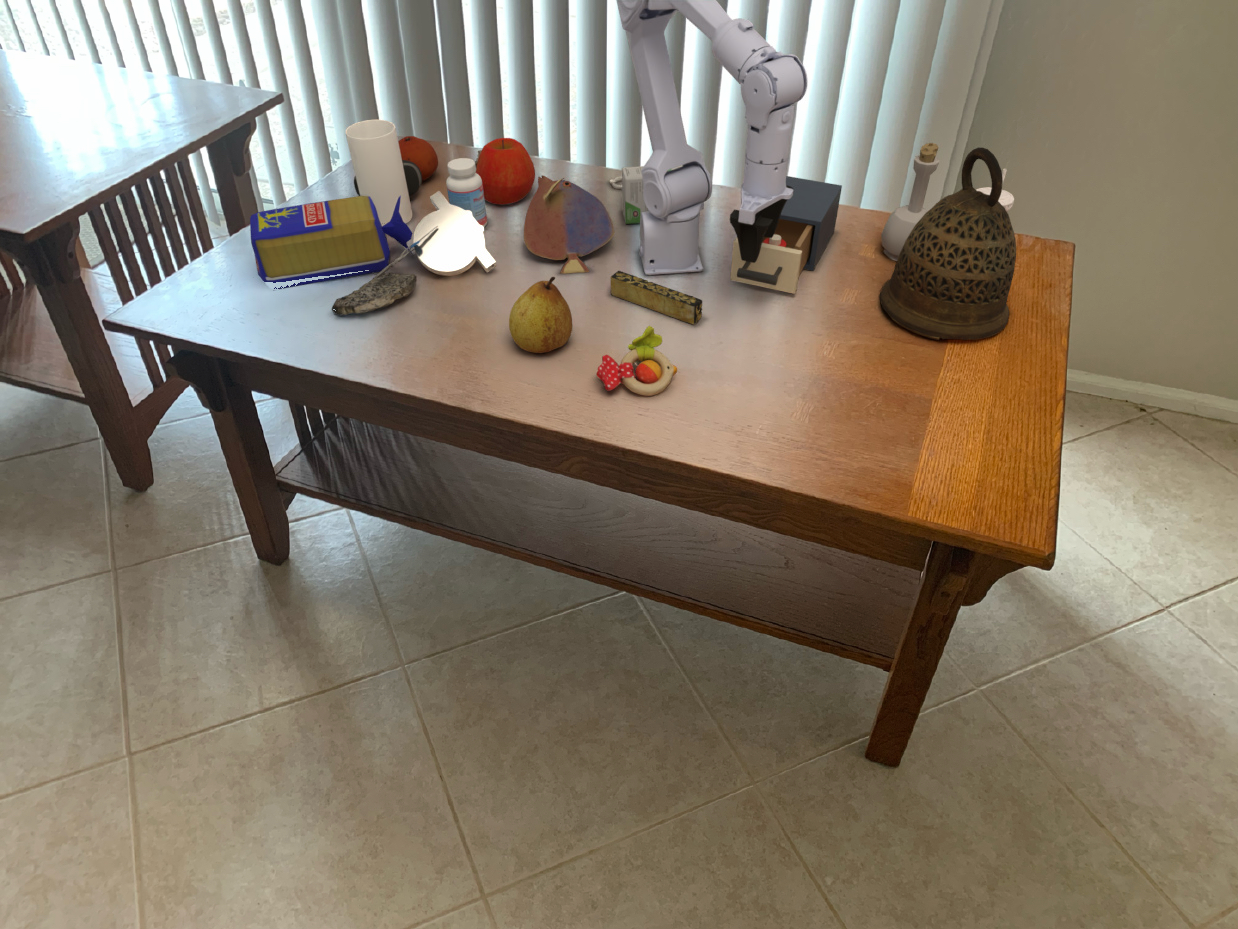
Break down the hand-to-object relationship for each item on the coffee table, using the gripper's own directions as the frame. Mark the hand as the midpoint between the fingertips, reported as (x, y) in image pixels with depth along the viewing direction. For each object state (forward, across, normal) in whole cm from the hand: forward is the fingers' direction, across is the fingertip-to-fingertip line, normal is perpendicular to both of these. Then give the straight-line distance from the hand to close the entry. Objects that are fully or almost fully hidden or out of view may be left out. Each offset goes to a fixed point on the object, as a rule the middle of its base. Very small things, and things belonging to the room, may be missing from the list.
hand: (757, 247), depth 123 cm
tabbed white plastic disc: (+7, -1, +48) cm, 48 cm away
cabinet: (+10, +21, 0) cm, 24 cm away
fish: (+11, +6, +34) cm, 36 cm away
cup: (+10, +2, +69) cm, 70 cm away
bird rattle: (+9, -24, +4) cm, 26 cm away
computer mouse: (+7, +10, +74) cm, 74 cm away
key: (+10, +29, +32) cm, 44 cm away
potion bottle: (+11, +26, -18) cm, 33 cm away
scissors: (+7, -14, +54) cm, 56 cm away
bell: (+11, +12, -26) cm, 31 cm away
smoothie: (+11, +32, -28) cm, 44 cm away
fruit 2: (+11, -21, +25) cm, 34 cm away
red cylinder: (+8, +10, 0) cm, 13 cm away
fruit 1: (+10, +18, +73) cm, 76 cm away
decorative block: (+11, -5, +14) cm, 18 cm away
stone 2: (+5, +23, +63) cm, 67 cm away
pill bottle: (+10, +6, +54) cm, 55 cm away
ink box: (+6, +19, +30) cm, 36 cm away
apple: (+10, +18, +53) cm, 57 cm away
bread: (+13, -14, +69) cm, 72 cm away
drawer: (+10, +9, 0) cm, 13 cm away
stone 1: (+6, -20, +55) cm, 59 cm away
